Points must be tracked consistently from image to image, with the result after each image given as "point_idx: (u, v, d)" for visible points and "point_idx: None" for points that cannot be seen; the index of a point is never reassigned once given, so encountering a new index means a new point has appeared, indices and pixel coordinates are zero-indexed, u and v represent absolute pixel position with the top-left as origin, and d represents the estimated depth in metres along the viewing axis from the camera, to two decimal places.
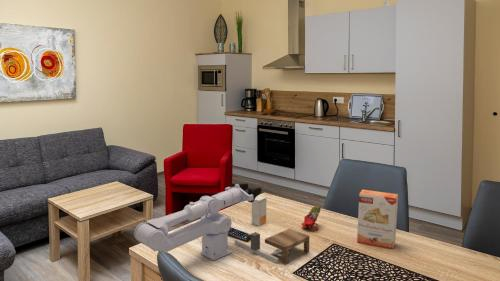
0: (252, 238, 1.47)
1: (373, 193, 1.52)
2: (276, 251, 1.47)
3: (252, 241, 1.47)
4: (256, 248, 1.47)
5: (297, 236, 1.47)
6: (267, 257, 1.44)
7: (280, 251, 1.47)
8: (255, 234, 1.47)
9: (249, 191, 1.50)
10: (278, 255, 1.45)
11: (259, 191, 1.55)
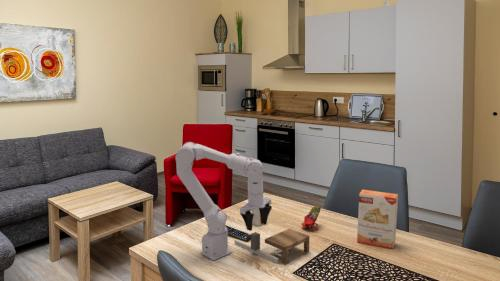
0: (252, 238, 1.47)
1: (373, 193, 1.52)
2: (276, 251, 1.47)
3: (252, 241, 1.47)
4: (256, 248, 1.47)
5: (297, 236, 1.47)
6: (267, 257, 1.44)
7: (280, 251, 1.47)
8: (255, 234, 1.47)
9: (250, 213, 1.42)
10: (278, 255, 1.45)
11: (247, 227, 1.44)
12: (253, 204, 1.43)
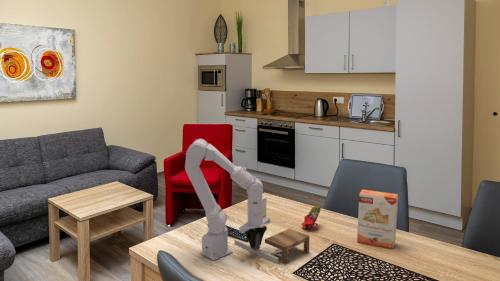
0: None
1: (373, 193, 1.52)
2: (276, 251, 1.47)
3: None
4: (256, 248, 1.47)
5: (297, 236, 1.47)
6: (267, 257, 1.44)
7: (280, 251, 1.47)
8: None
9: (253, 231, 1.44)
10: (278, 255, 1.45)
11: (251, 244, 1.47)
12: (252, 223, 1.44)
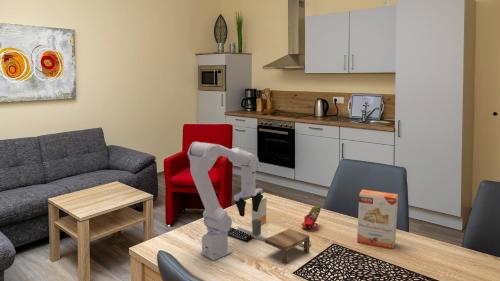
0: (253, 224, 1.61)
1: (373, 193, 1.52)
2: None
3: (253, 227, 1.61)
4: (257, 233, 1.61)
5: (297, 236, 1.47)
6: None
7: None
8: (256, 220, 1.61)
9: (242, 201, 1.56)
10: None
11: (240, 213, 1.58)
12: (246, 192, 1.57)
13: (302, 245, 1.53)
